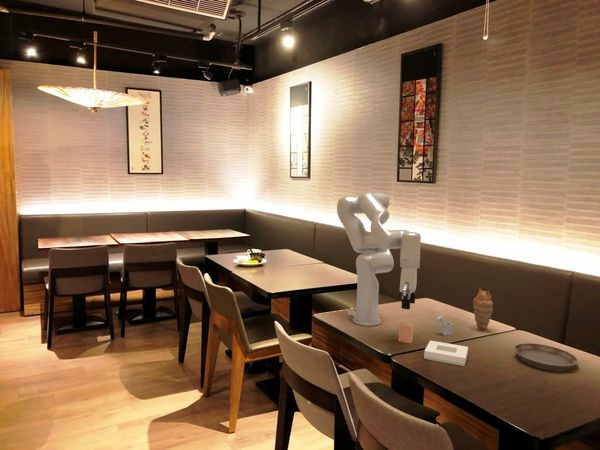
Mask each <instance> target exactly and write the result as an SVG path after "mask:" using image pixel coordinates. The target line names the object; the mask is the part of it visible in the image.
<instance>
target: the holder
mask: <svg viewBox="0 0 600 450" xmlns="http://www.w3.org/2000/svg"><path fill="white" fill-rule="evenodd" d="M423 352H424V354H423V355H424V356H423V359H424V360H429V361H434V362H440V363H445V364H451V365H456V366H461V367H465V366H466V361H467V358H468V356H469V355H468V354H469V346H466V345H459V344H453V343H448V342H447V343H446V342H441V341H435V340H429V342H428V344H427V346H426V347H425V349H424V351H423Z"/></svg>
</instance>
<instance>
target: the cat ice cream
mask: <svg viewBox="0 0 600 450" xmlns="http://www.w3.org/2000/svg"><path fill="white" fill-rule="evenodd" d="M472 302H473V304H472V305H473V310H474V311H473V314H474V321H475V322H476V327H477V329H479V330H481V331H485V330H487V329H488V328H489V325H490V321H491V319H492V314H493V307H494V303H493V301H492V294H491V293H490V291H489V290H488V291H487V290H482V289H481V288H479V289H478V293H477V295H476V297H474V298H473V301H472Z"/></svg>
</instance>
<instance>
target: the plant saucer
mask: <svg viewBox="0 0 600 450" xmlns="http://www.w3.org/2000/svg"><path fill="white" fill-rule="evenodd" d="M513 349H514V352H515V354H516V356H518V358H519V359H520V360H521V361H522V362H524V363H526V364H528V365H530V366H532V367H535V368H538V369H542V370H546V371H554V372H555V371H556V372H559V371H560V372H562V370H563V371H567V370H570V369H572V368H573V367H575V366H576V365H577V364H578V362H579V361H578V360H579V359H578V358H577V357H576V356H575V355H574V354H573V353H570V352H568V351H566V350H564V349H561V348H558V347H554V346H550V345H546V344H540V343H529V342H527V343H526V342H524V343H519V344H515V346H514V347H513Z"/></svg>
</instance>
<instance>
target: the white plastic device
mask: <svg viewBox="0 0 600 450" xmlns="http://www.w3.org/2000/svg"><path fill="white" fill-rule="evenodd" d="M436 319H437V321H438V325H439V326H440V327H442V331H441V332H442V333H441V335H442V336H451V335H452V336H453V334H454V324H453V323H452V322H451V321H446V322H444V320H443V317H442V316H441V315H439V316H437V317H436Z"/></svg>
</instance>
